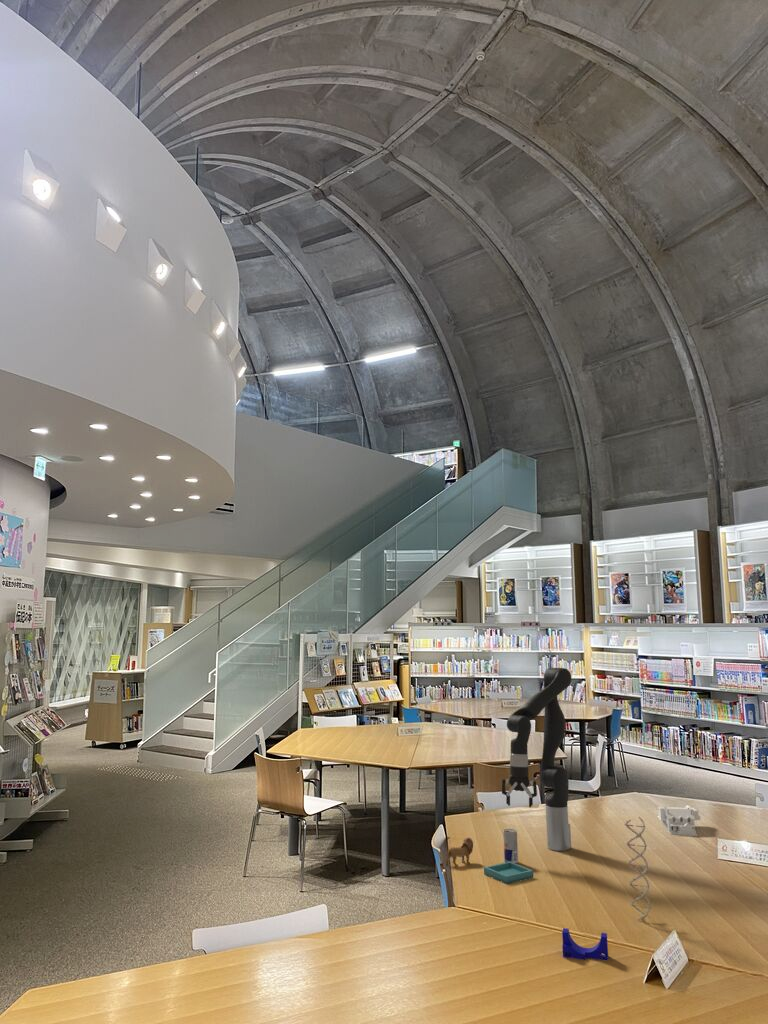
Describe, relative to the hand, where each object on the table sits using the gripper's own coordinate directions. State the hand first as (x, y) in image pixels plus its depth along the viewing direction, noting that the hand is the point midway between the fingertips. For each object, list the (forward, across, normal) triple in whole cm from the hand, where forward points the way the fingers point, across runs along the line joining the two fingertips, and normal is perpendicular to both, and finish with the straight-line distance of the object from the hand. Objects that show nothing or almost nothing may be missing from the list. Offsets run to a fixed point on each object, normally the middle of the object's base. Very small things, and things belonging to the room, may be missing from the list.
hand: (519, 806), depth 291 cm
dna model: (+22, -41, +55) cm, 72 cm away
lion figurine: (+22, +23, +12) cm, 34 cm away
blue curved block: (+25, -24, +87) cm, 94 cm away
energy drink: (+20, +3, +6) cm, 22 cm away
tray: (+21, +3, +23) cm, 31 cm away
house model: (+14, -71, -61) cm, 94 cm away
